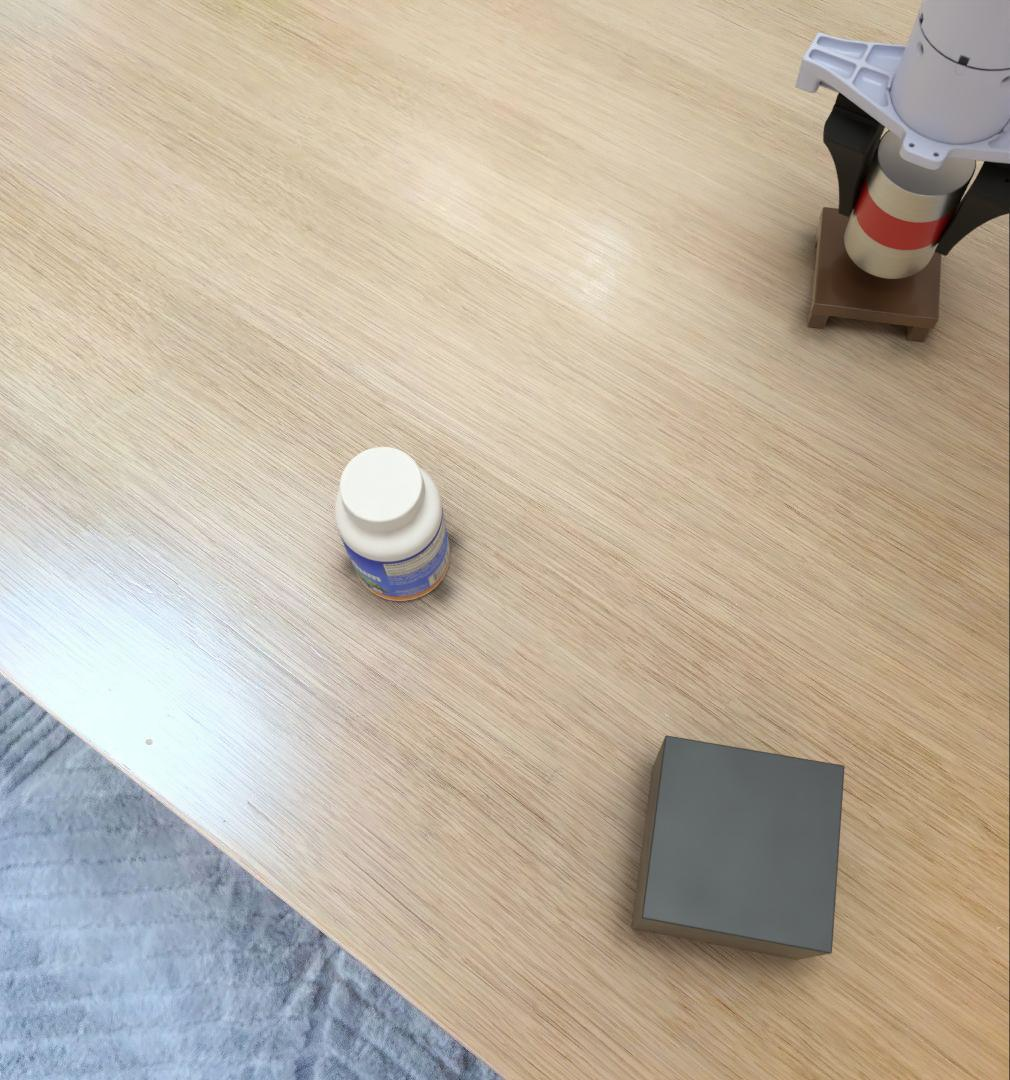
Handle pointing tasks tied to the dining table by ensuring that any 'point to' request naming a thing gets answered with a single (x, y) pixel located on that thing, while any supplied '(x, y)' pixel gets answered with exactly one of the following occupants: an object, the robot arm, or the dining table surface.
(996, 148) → the robot arm
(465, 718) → the dining table surface
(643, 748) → the dining table surface
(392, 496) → the pill bottle
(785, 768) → the square coaster
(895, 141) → the can
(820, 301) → the stool
